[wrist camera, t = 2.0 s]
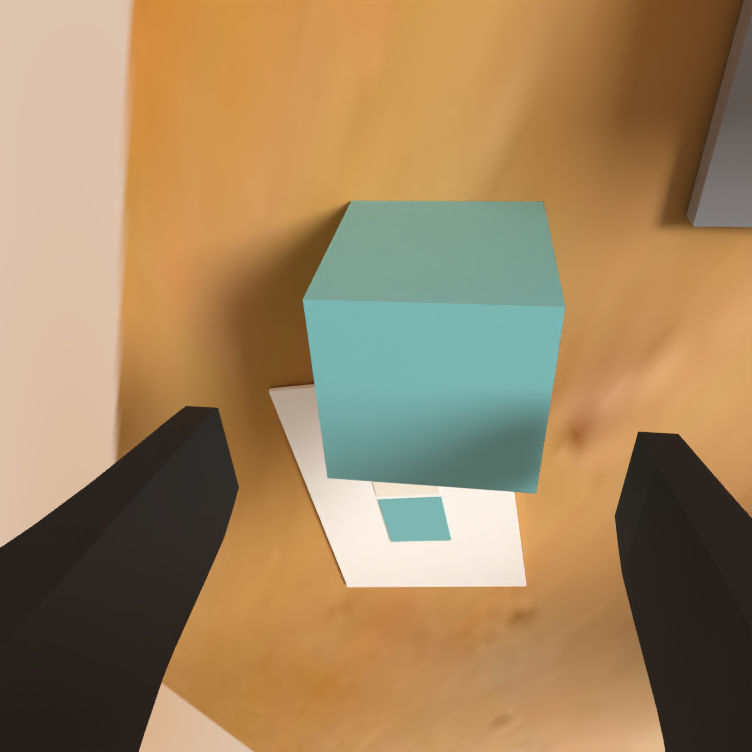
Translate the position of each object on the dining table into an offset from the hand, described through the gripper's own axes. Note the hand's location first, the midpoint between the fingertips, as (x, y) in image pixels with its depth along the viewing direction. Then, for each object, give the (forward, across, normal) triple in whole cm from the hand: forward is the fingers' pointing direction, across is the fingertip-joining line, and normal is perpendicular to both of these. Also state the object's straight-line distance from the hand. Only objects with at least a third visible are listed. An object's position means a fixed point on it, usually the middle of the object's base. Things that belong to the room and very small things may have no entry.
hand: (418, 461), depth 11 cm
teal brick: (+7, 0, 0) cm, 7 cm away
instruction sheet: (+6, +1, +8) cm, 10 cm away
